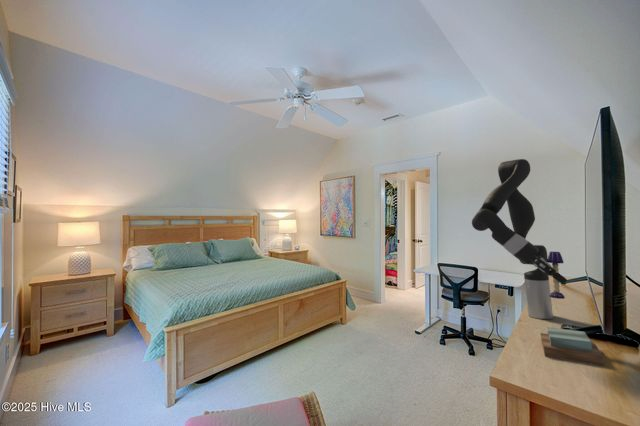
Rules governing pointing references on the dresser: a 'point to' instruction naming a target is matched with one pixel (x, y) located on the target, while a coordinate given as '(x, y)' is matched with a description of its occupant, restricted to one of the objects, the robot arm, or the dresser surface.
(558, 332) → the brick stand
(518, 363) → the dresser surface
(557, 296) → the toy lamp
